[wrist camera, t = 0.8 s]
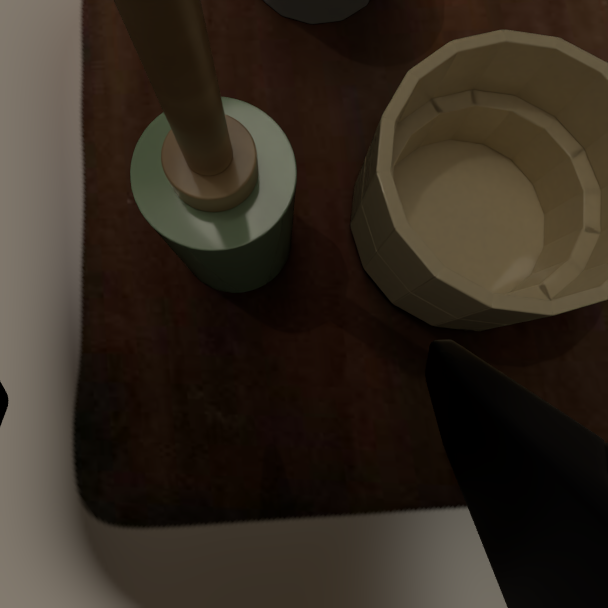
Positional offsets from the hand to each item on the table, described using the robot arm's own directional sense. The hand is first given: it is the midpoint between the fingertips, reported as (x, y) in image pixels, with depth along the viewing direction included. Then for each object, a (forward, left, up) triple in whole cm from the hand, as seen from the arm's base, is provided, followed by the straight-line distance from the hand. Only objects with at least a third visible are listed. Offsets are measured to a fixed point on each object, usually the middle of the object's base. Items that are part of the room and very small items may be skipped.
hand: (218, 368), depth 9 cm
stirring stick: (+6, -4, -6) cm, 9 cm away
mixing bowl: (0, -14, -14) cm, 19 cm away
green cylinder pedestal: (+6, -4, -14) cm, 15 cm away
